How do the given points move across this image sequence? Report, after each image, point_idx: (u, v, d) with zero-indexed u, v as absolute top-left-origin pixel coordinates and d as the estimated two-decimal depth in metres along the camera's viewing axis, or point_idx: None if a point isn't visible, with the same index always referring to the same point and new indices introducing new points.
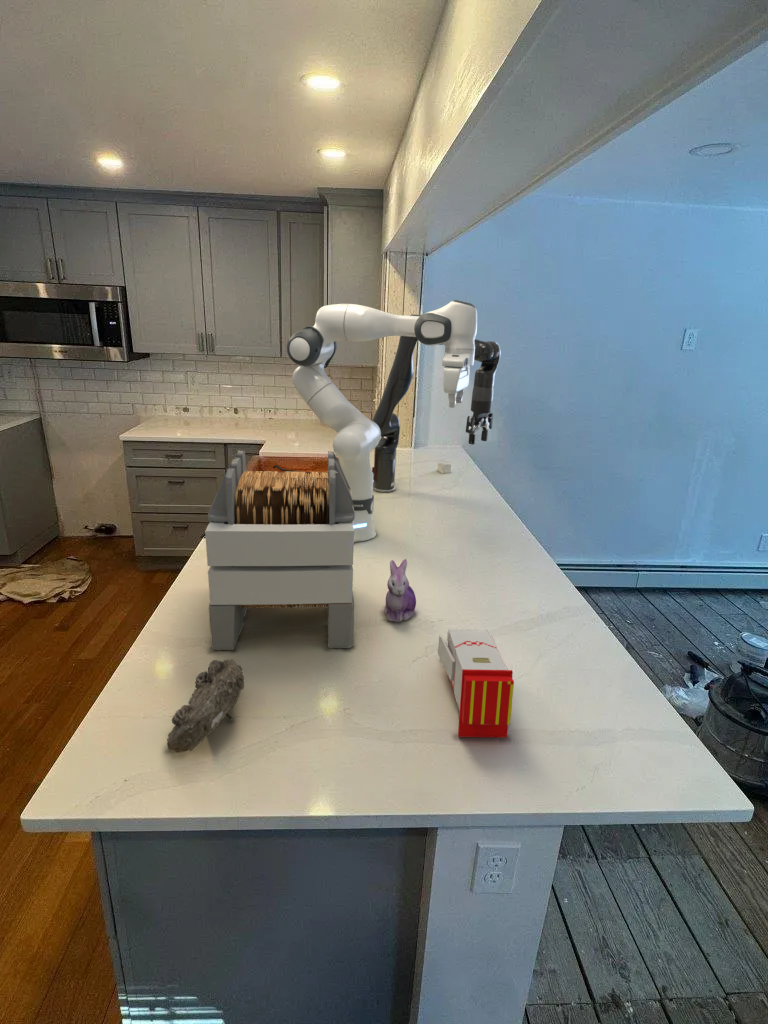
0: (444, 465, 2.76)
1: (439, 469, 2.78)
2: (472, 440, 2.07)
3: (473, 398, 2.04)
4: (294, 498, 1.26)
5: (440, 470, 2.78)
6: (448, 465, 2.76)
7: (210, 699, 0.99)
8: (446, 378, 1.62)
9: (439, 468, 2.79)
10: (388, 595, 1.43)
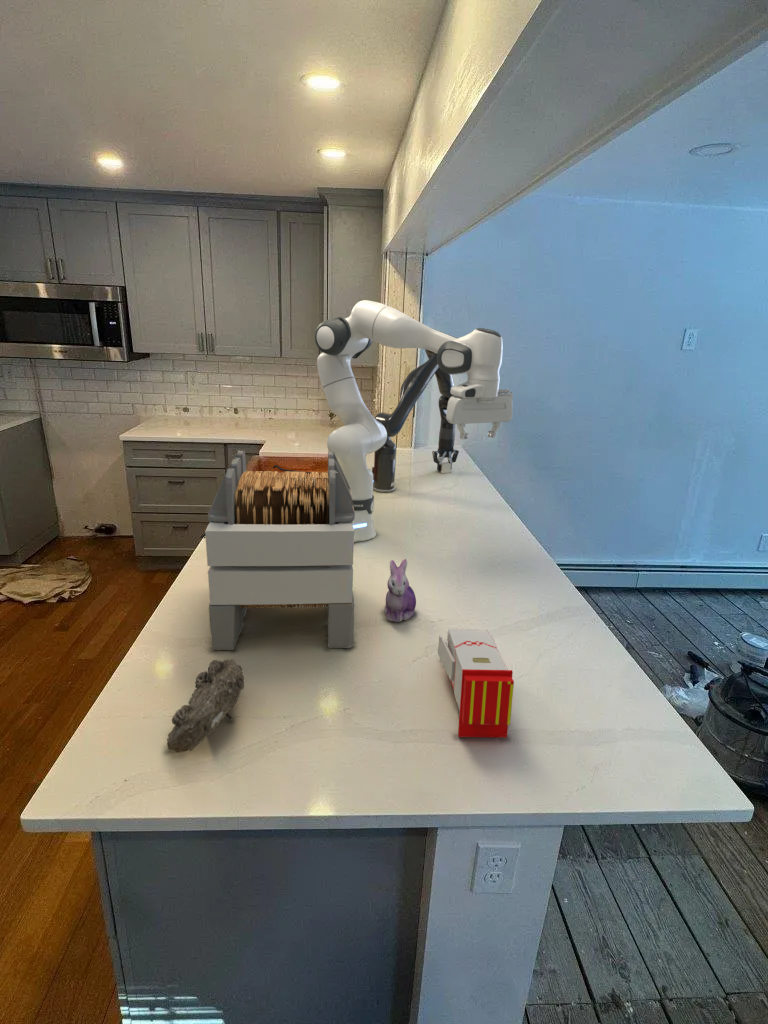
0: (444, 465, 2.76)
1: None
2: (439, 468, 2.77)
3: (439, 436, 2.74)
4: (294, 498, 1.26)
5: None
6: (448, 465, 2.76)
7: (210, 699, 0.99)
8: (448, 407, 1.58)
9: None
10: (388, 595, 1.43)
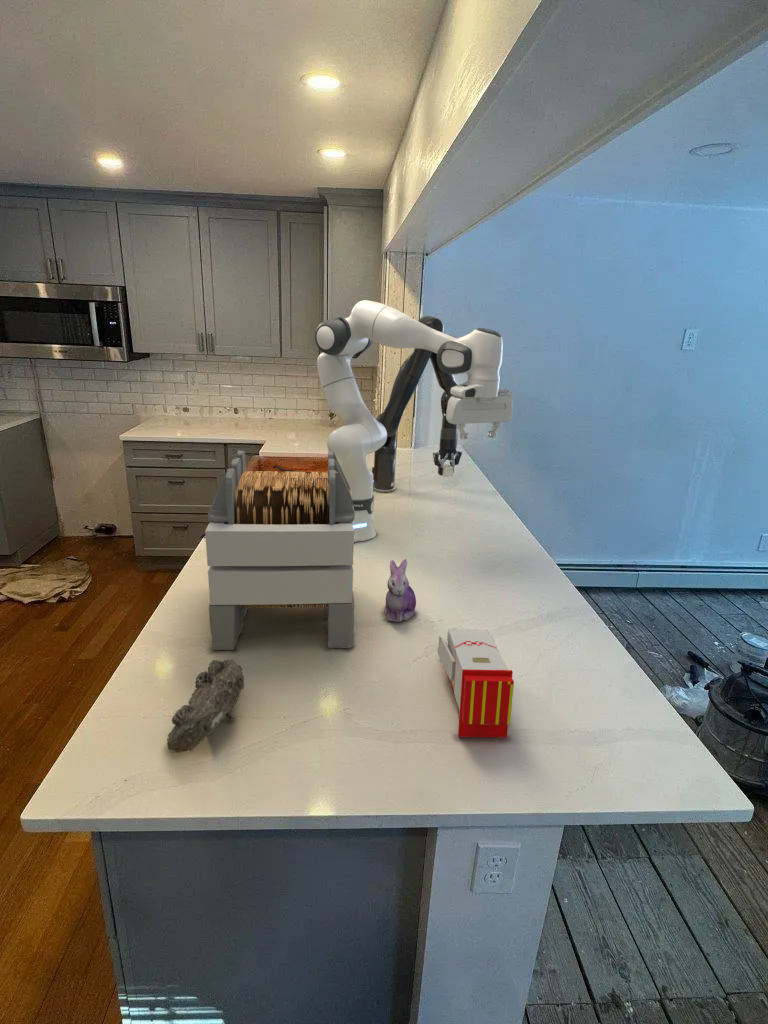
0: (446, 468, 2.49)
1: None
2: (440, 472, 2.51)
3: (440, 436, 2.47)
4: (294, 498, 1.26)
5: None
6: (450, 468, 2.50)
7: (210, 699, 0.99)
8: (448, 407, 1.58)
9: None
10: (388, 595, 1.43)
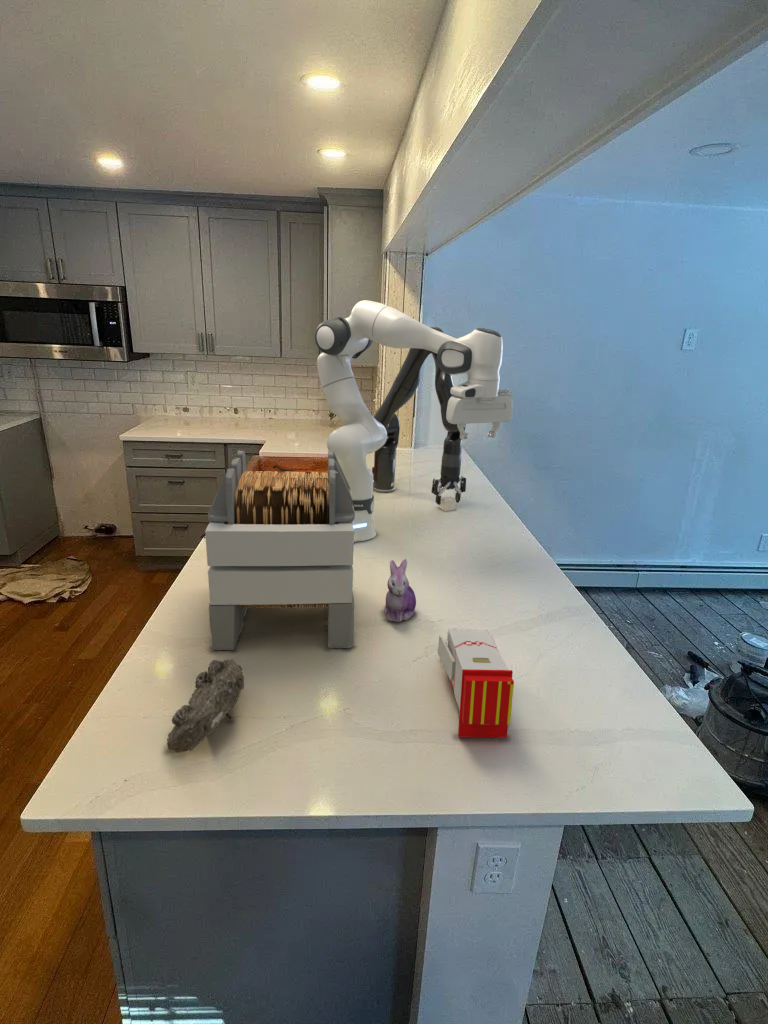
0: (447, 501, 2.24)
1: (441, 506, 2.26)
2: (437, 501, 2.24)
3: (441, 463, 2.21)
4: (294, 498, 1.26)
5: (442, 507, 2.26)
6: (452, 501, 2.24)
7: (210, 699, 0.99)
8: (448, 407, 1.58)
9: (441, 504, 2.27)
10: (388, 595, 1.43)
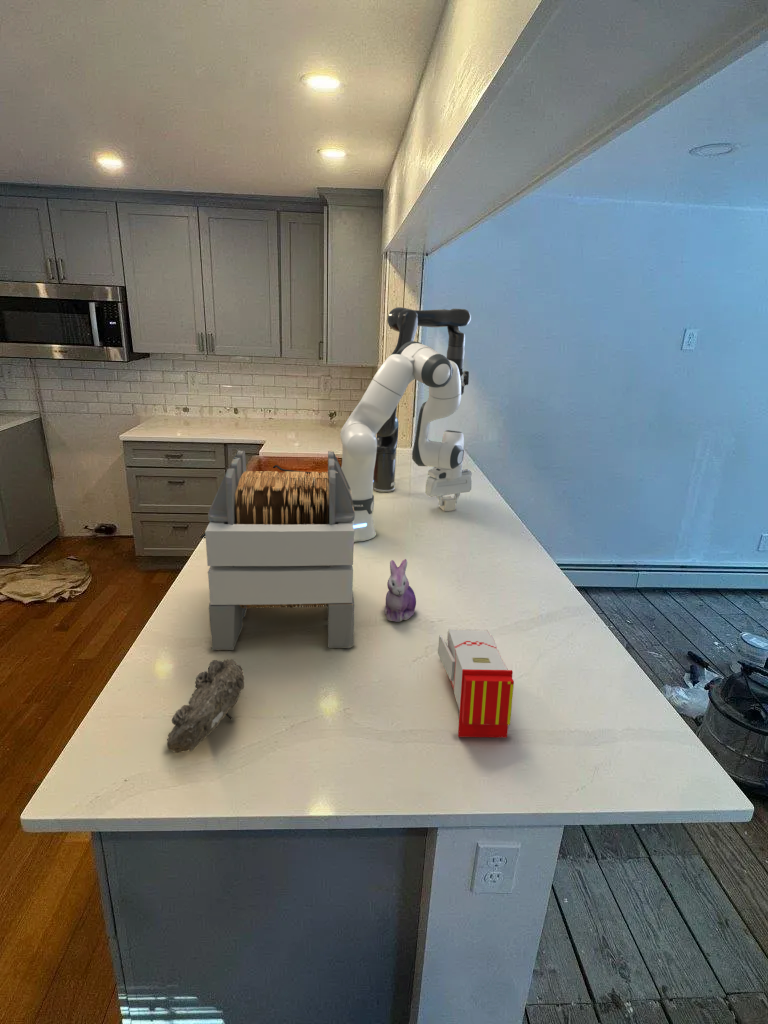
0: (447, 501, 2.24)
1: (441, 506, 2.26)
2: None
3: None
4: (294, 498, 1.26)
5: (442, 507, 2.26)
6: (452, 501, 2.24)
7: (210, 699, 0.99)
8: (426, 484, 2.20)
9: None
10: (388, 595, 1.43)
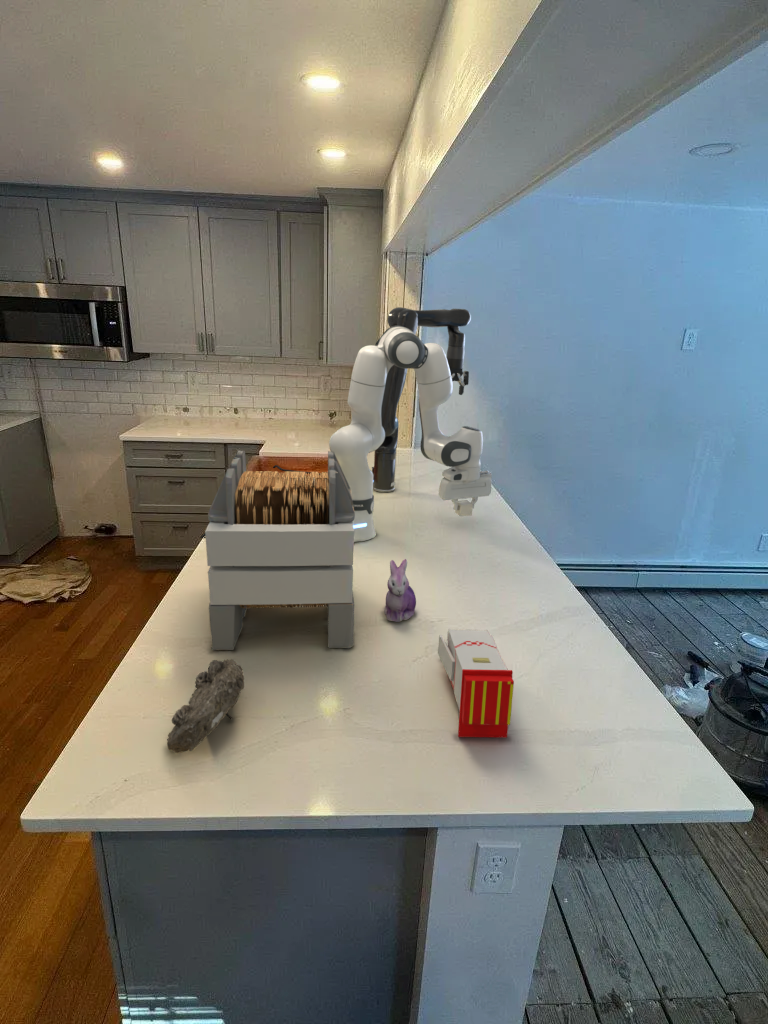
0: (463, 506, 2.02)
1: (457, 511, 2.05)
2: None
3: None
4: (294, 498, 1.26)
5: (458, 512, 2.05)
6: (469, 506, 2.03)
7: (210, 699, 0.99)
8: (440, 486, 1.99)
9: None
10: (388, 595, 1.43)
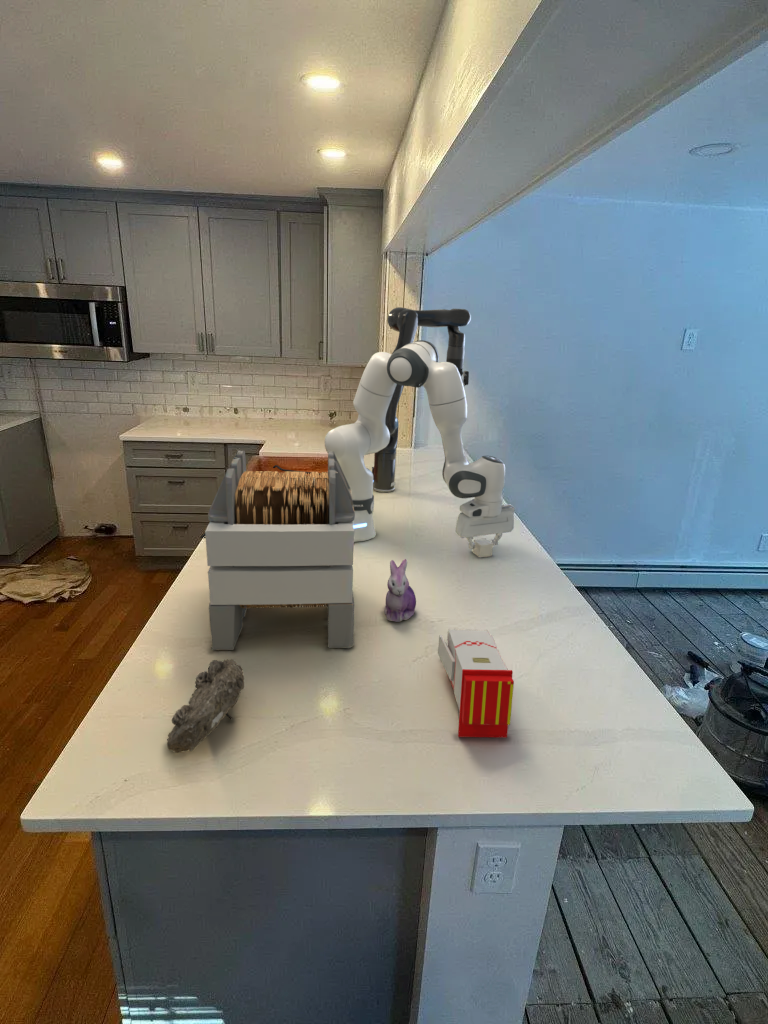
0: (483, 546, 1.83)
1: (475, 551, 1.85)
2: None
3: None
4: (294, 498, 1.26)
5: (476, 552, 1.85)
6: (489, 546, 1.83)
7: (210, 699, 0.99)
8: (457, 522, 1.80)
9: (475, 549, 1.86)
10: (388, 595, 1.43)
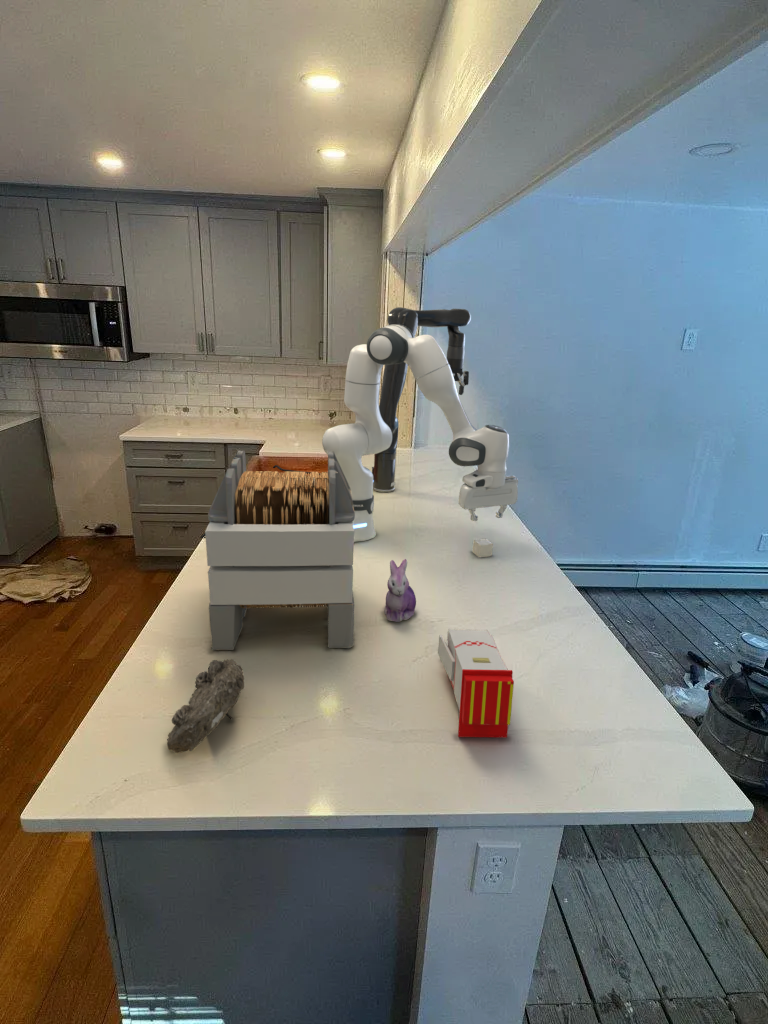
0: (483, 546, 1.83)
1: (475, 551, 1.85)
2: None
3: None
4: (294, 498, 1.26)
5: (476, 552, 1.85)
6: (489, 546, 1.83)
7: (210, 699, 0.99)
8: (460, 494, 1.76)
9: (475, 549, 1.86)
10: (388, 595, 1.43)
